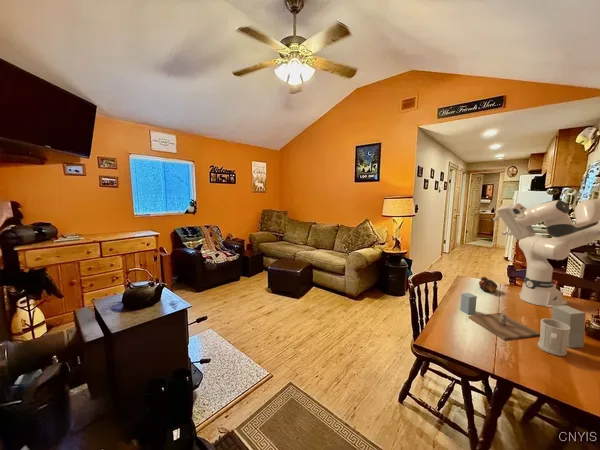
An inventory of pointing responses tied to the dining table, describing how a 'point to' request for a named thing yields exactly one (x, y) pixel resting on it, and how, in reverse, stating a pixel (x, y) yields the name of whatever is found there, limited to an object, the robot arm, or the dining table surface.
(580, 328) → the skincare box
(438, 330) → the dining table surface
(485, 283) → the decorative turtle
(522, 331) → the walnut base
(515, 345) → the dining table surface
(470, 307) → the tall grey rectangular prism
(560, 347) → the cup
